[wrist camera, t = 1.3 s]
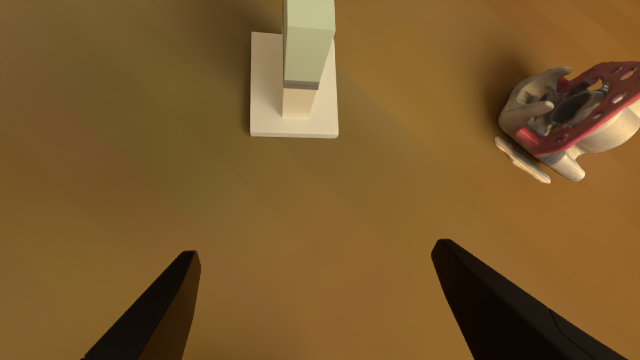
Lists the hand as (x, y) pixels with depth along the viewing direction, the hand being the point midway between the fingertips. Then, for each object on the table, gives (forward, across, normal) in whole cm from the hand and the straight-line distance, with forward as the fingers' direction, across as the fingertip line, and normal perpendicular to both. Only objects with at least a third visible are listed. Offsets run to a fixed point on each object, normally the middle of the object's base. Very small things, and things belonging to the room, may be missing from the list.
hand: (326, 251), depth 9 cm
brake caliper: (+18, -27, +2) cm, 32 cm away
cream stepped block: (+20, 0, 0) cm, 20 cm away
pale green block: (+15, 0, -5) cm, 16 cm away
